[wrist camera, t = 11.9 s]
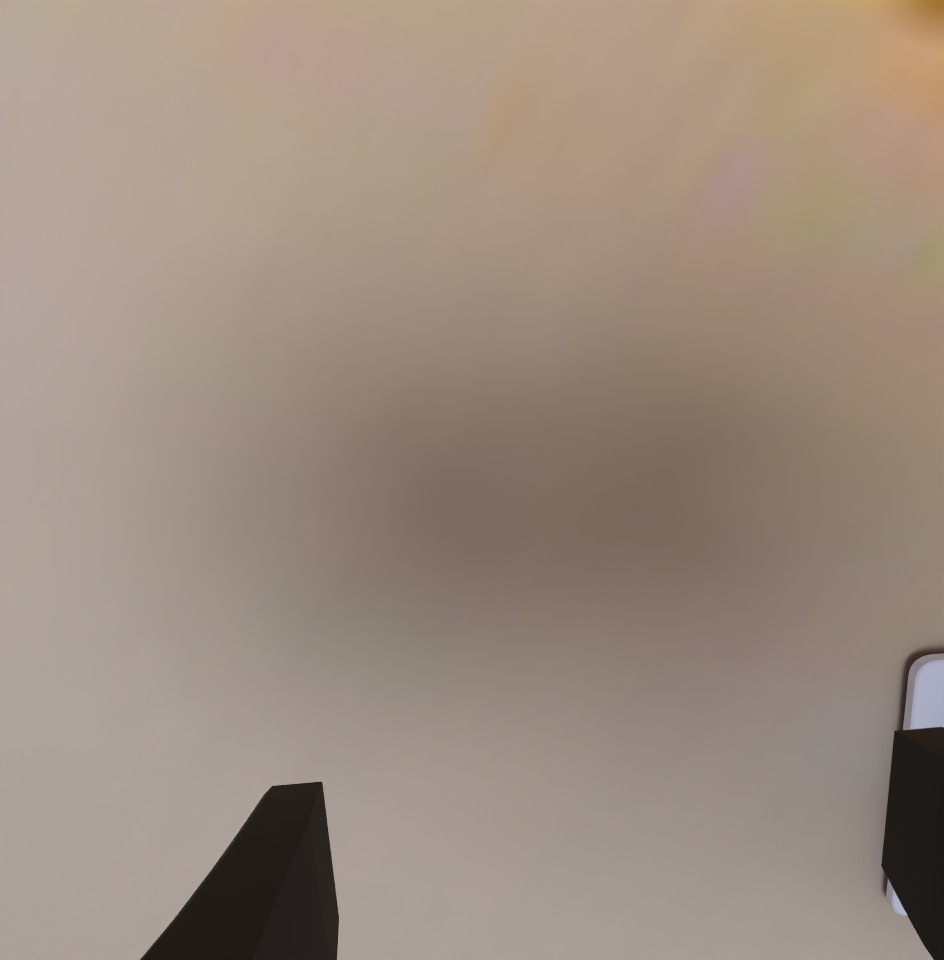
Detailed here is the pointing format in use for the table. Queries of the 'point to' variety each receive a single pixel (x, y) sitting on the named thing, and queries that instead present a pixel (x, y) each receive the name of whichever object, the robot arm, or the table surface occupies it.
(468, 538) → the table surface
